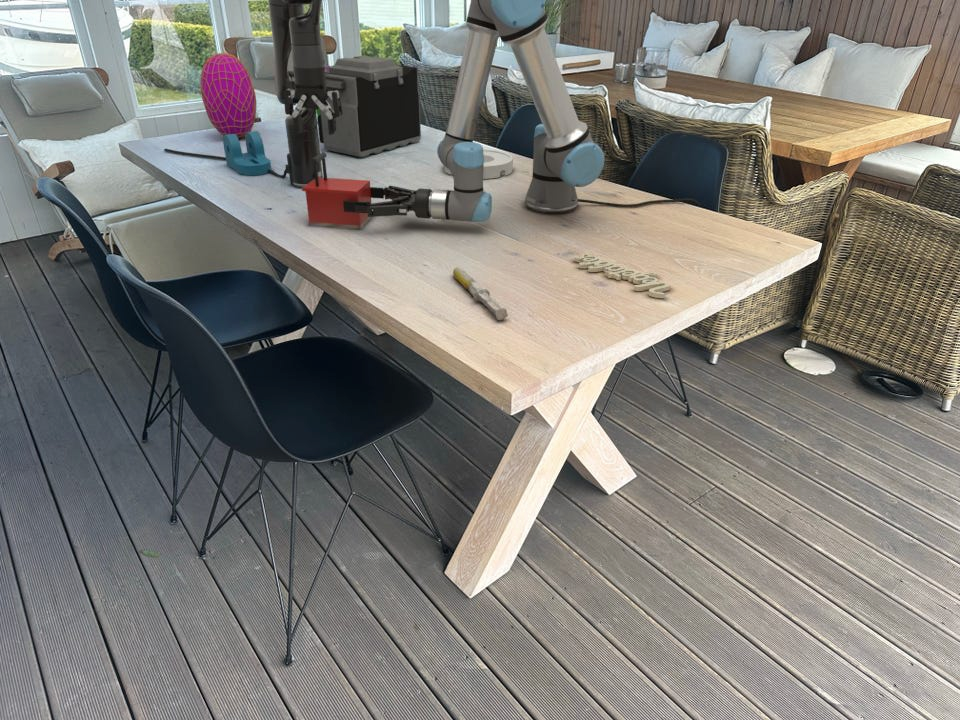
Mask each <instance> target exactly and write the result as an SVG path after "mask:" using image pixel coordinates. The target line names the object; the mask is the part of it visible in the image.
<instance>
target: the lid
mask: <svg viewBox="0 0 960 720" xmlns="http://www.w3.org/2000/svg"><path fill="white" fill-rule="evenodd" d="M326 158H327V153H326V152H324V151H322V152H320V154H319V155H317V156H316V157H314V158H313V159H312V160H311V162H312V164H313V166H314V174H315V179H314V180H312V181H311V182H309V183H308V184H307V185H305V186H304V187H302V188H301V191H302V192H306V191H312V192H327V193H342V194H357V195H358V194H359V193H360V192H361V191H362V190H363V189H364V188H366V187H367V186H368V185H369V184H370V185H371V180H366V179H351V178H335V177H328V173H327V164H326V163H327V162H326ZM320 161H321V165H322V175H323V178H321V177H318V170H317V163H318V162H320Z"/></svg>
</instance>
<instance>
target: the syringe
mask: <svg viewBox="0 0 960 720" xmlns="http://www.w3.org/2000/svg"><path fill="white" fill-rule="evenodd" d="M452 274H453V277H454V279H455V280H457V281H458V282H459V283H460V285H462V287H464V289H466V290H467V291H468V293H470V295H471V296H472V298H473V300H474V302H477V303H478V302H480V303H482V304H483V305H484V306H485V307H486V308H487V309H488V310H489V311H490V312H491V313H492V314H493V315H494V316H495V317H496V320H497V321H503V320H504V319H506V318H507V317H509V314H508V310H507V308H506V307H502V306H501V305H500V303H498V302H497V301H496V300H494V299H493V298H492V297H491V296H490V295H491V293H490V290H488V289H486V288H483V287H482V286H481V285H480V284H479V283H478V282H477V281H476V280H474V278H473V277H471V275H469V274H468V273H467V272H466V270H465V269H464V268H463V267H462V266H456V267H454V268H453V271H452Z"/></svg>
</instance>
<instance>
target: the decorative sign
mask: <svg viewBox="0 0 960 720" xmlns="http://www.w3.org/2000/svg"><path fill="white" fill-rule="evenodd" d="M574 262H575V263H578V269H588V270H587V272H588V273H598V272H603V273H604V276H606V277H607V278H608V279H614V280H617V281H621V279H622V280H627V281H628V282H630V283H633V284H634V285H633V291H636V292H643V291H647V290H648V293H647V294H648V296H649V297H652V298H656V299H664V298H665V295H666V292H668V291H669V290H670V289H671V283H670V282H668V281H659V279H658V272H657V271H648V272H639V271H637V270H634V269H630V268H628V267H627V266H626V267H625V266H624V265H619V264H618V263H615V262H611V261H610V260H604V258H601V257H598V256H596V255H592V254H590V253H587V252H586V253H582V254H581V255H580V256H578V255H575V256H574Z"/></svg>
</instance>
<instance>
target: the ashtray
mask: <svg viewBox="0 0 960 720" xmlns="http://www.w3.org/2000/svg"><path fill="white" fill-rule="evenodd" d="M483 154H484V168H483V180H488V179H489V180H490V179H497V178H498V179H499V178H500V177H501V176H505V177H506V176H508V175H510V174H511V173H512V172H513V171H514V170H513V168H514V157H513V156H512V155H511V154H510V153H508V152H505V151H500V150H496V149H489V148H488V149H487V148H486V149H485V148H483ZM443 171H444V173H446V174H448V175H453V176H454V174H453V173H452V172H451V171H450V170H449V169H448V168H447V167H445V166H444V165H443Z"/></svg>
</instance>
